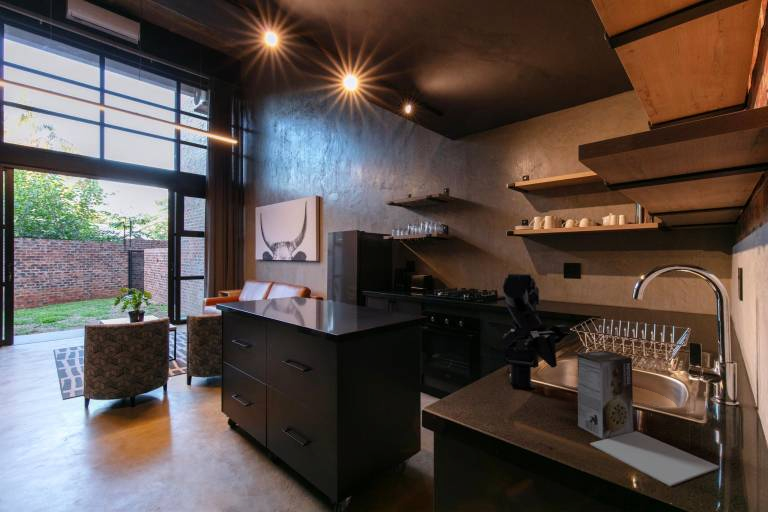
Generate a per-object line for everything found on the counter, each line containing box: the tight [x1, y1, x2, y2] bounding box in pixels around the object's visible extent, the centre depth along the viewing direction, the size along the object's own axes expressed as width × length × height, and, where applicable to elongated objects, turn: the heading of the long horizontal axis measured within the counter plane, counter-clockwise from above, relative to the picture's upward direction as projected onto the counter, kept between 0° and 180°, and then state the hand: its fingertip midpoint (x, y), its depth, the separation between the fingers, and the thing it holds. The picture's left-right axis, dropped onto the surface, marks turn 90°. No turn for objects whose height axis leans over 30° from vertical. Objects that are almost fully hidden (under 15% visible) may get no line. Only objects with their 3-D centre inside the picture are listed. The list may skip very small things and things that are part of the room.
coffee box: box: [576, 350, 634, 440], centre depth 76 cm, size 9×6×16 cm
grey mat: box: [589, 430, 720, 487], centre depth 66 cm, size 14×14×1 cm
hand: (554, 366), depth 86 cm, fingers closed
